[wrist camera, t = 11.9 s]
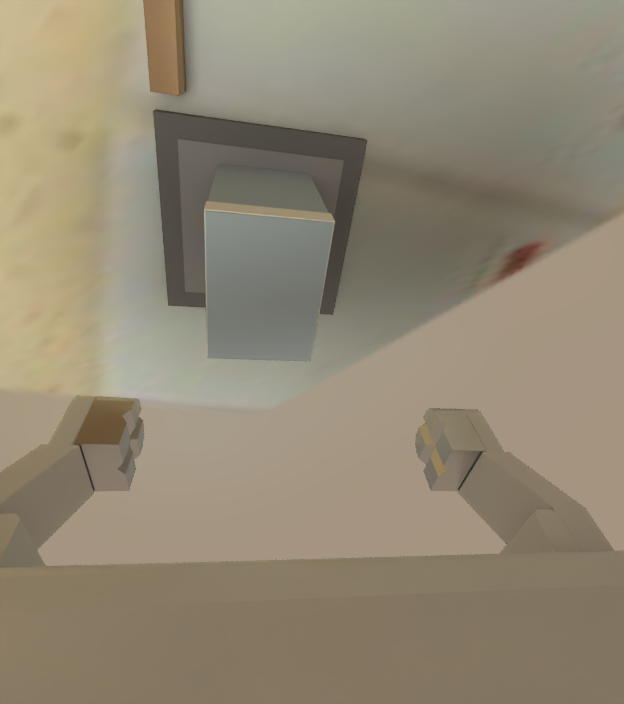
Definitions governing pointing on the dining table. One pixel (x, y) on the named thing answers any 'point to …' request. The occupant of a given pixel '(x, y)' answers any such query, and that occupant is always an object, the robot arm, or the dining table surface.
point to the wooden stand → (165, 45)
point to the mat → (248, 151)
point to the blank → (264, 263)
